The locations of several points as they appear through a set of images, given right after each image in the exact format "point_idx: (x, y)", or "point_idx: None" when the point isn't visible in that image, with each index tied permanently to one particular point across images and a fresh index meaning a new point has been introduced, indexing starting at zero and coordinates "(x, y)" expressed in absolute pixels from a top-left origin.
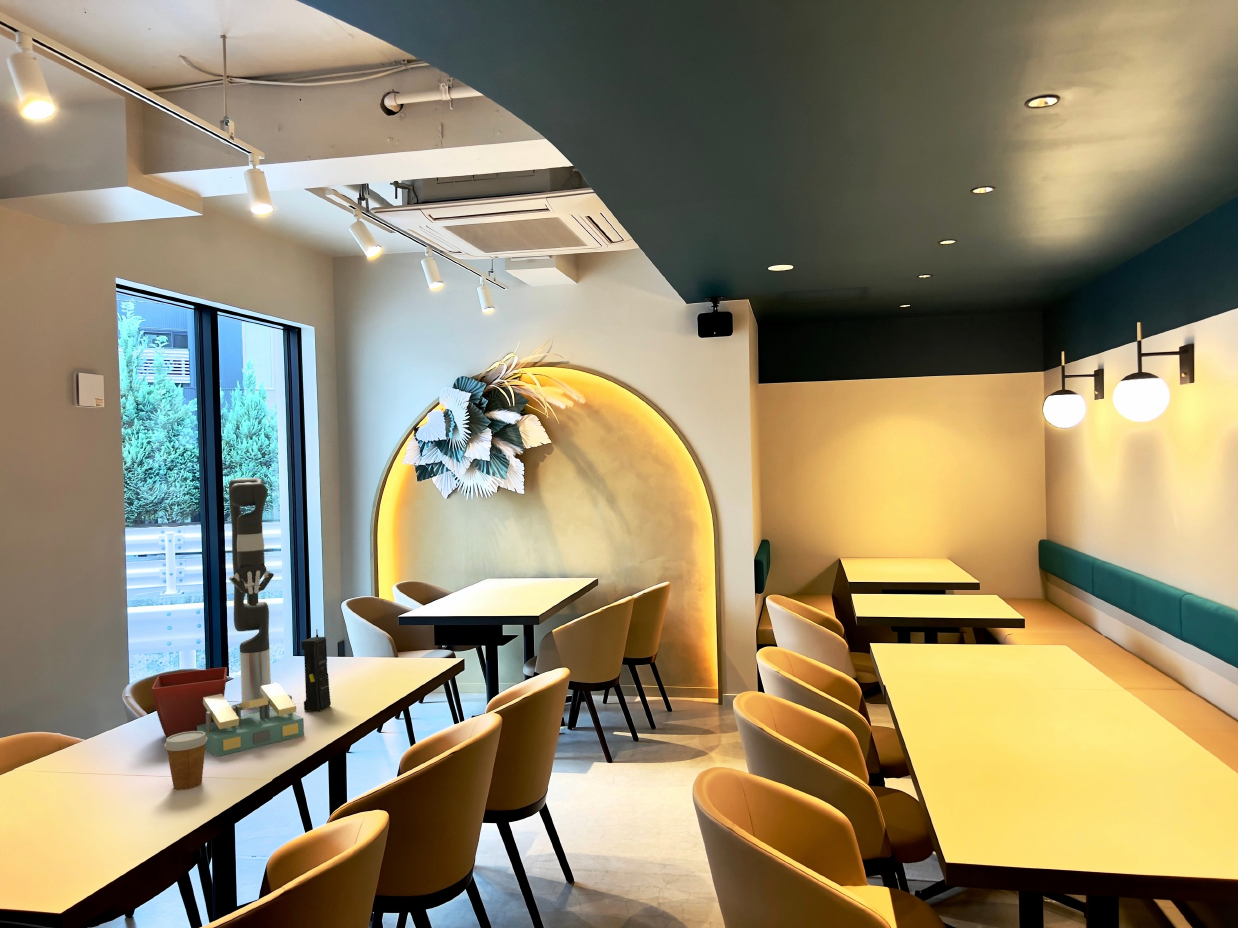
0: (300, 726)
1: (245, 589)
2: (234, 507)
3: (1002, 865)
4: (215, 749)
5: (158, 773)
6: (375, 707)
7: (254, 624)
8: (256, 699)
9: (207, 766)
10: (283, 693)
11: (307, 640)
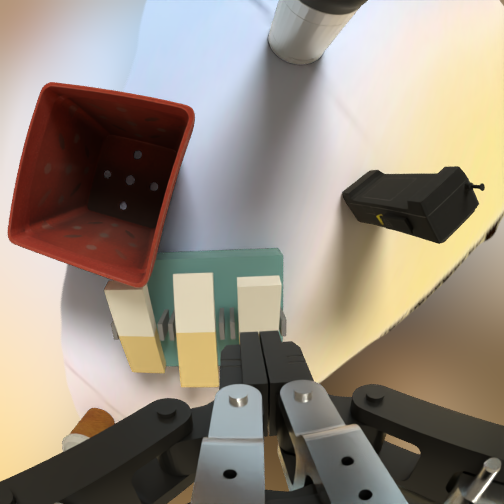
0: None
1: (189, 478)
2: None
3: None
4: None
5: (68, 357)
6: (425, 274)
7: None
8: (196, 386)
9: (122, 380)
10: (273, 329)
11: (433, 215)
